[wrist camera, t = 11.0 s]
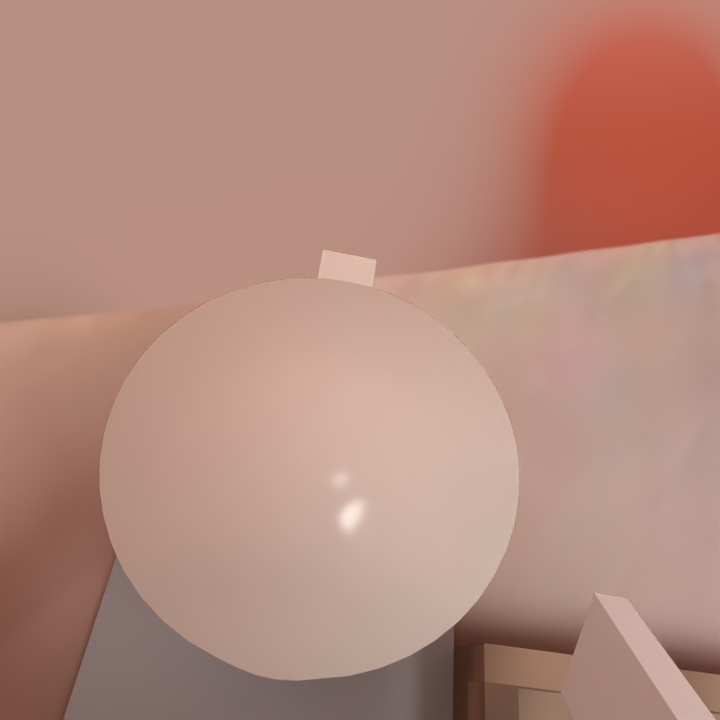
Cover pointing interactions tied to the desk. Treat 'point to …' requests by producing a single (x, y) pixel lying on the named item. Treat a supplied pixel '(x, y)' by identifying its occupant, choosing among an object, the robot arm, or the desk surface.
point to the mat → (236, 677)
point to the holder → (531, 684)
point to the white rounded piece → (309, 476)
